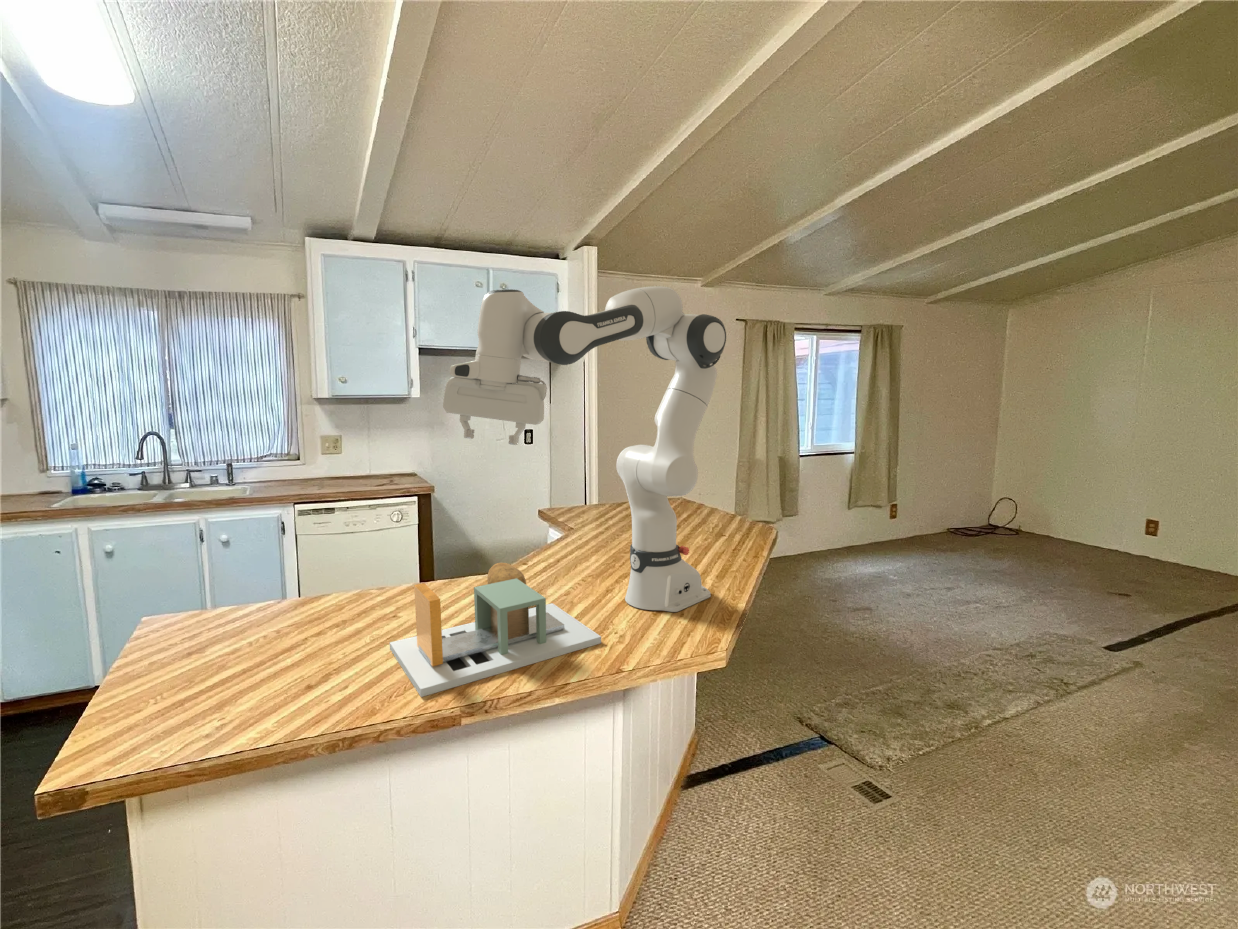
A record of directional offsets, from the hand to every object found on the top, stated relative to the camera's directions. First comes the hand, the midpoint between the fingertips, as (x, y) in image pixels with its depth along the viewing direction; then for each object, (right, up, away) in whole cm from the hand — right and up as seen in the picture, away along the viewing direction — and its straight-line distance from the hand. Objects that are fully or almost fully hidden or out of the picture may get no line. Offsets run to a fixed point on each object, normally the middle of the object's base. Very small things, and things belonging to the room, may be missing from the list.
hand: (490, 441), depth 119 cm
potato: (-3, -39, +32) cm, 51 cm away
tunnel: (+3, -41, +7) cm, 42 cm away
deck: (0, -43, +5) cm, 43 cm away
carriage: (0, -41, +5) cm, 41 cm away
